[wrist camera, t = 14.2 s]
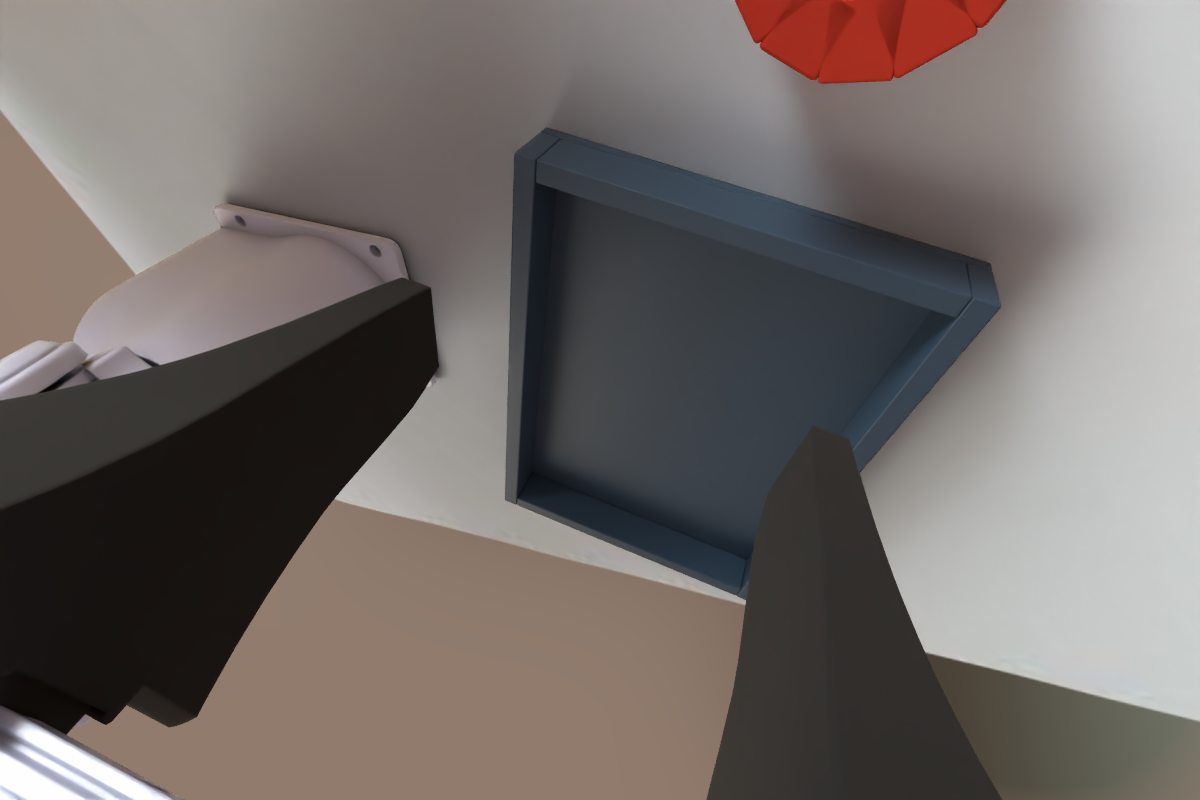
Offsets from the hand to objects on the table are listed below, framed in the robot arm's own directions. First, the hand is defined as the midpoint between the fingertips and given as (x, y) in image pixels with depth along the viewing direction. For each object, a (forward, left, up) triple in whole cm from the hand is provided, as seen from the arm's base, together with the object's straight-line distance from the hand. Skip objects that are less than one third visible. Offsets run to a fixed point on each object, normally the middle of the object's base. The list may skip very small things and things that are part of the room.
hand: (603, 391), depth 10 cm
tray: (0, -9, -9) cm, 13 cm away
